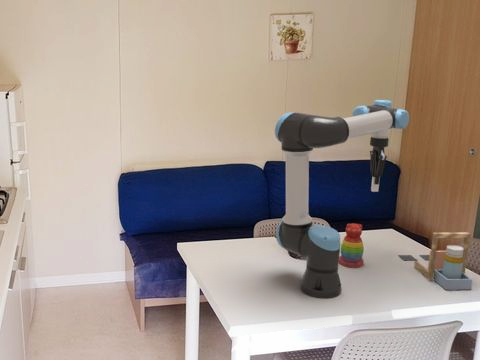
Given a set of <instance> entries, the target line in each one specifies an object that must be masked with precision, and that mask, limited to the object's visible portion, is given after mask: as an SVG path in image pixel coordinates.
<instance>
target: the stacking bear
mask: <svg viewBox="0 0 480 360" xmlns="http://www.w3.org/2000/svg"><path fill="white" fill-rule="evenodd" d="M362 232H363V224H360V223H354V222H353V223H347V224H346V227H345V236H344V237H343V239H342V243H341V244H340V245H341V246H340V255H339V265H341V266H343V267H346V268H350V269H351V268H352V269H356V268H357V269H358V268H360V267H362V266H363V265H364V259H363V254H364V249H365V248H364V241H363V239H362V238H361V236H362Z"/></svg>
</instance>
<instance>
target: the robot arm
mask: <svg viewBox="0 0 480 360" xmlns="http://www.w3.org/2000/svg"><path fill="white" fill-rule="evenodd" d="M409 123H410V114H409V112H408V110H405V109H401V108H393V102H392V100H387V99H375V100H374V101H373V104H372V105H359V106H356V107H355V108H354V109H353V111H352V116H350V117H341V116H335V117H329V116H322V115H321V116H320V115H317V114H314V115H313V114H309V113H302V112H297V111H296V112H292V111H291V112H285V113H284V114H282V115H281V116H280V118H279V119H277V121H276V124H275V127H274V135H275V138H276V139H277V141H279V142H280V144H281V145H280V146H281V151H282V152H283V153H284V155H285V215H284V216H283V217H282V218H281V221H280V222H279V223H278V227H276V231H275V239H276V242H277V244H278V245H279V246H280V247H281V248H282V249H284V250H286V251H288V252H290V253H291V252H292V253H293V254H296V255H298V256H301V257H303V258H305V259H306V266H305V267H306V268H305V270H304V273H303V276H302V279H301V280H300V286H299V288H300V291H302V293H304V294H306V295H308V296H311V297H315V298H322V299H325V298H326V299H327V298H328V299H330V298H335V297H338V296H339V295H340V294H341V293H342V283H341V279H340V275H339V265H340V263H339V256H340V254H341V245H342V243H341V234H340V233H339V232H338V230H336V229H334V228H332V227H331V226H326V225H325V226H324V225H321V224H314V225H313V218H312V217H311V216H310V214H309V190H310V189H309V187H310V186H309V185H310V183H309V181H310V177H309V174H310V173H309V172H310V171H309V169H310V154H311V152H313V151H314V149H321V148H322V149H323V148H329V147H333V146H337V145H340V144H344V143H346V142H347V141H348V140H349V139H353V138H357V137H361V136H365V135H369V134H370V136H371V137H370V140H369V145H370V146H371V147H373V148H372V150H370V151H369V155H370V160H369V161H370V163H369V164H370V174H371V176H372V177H371V178H372V179H371V186H370V191H371V192H373V193H375V192H377V193H378V192H379V187H380V178H381V177H383V174H384V168H385V164H386V160H387V158H388V156H387V155H385V148H387V147H389V143H390V142H389V141H390V139H389V137H390V132H391V129H396V130H404V129H406V127H407V126H408V125H409Z"/></svg>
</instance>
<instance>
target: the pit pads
mask: <svg viewBox="0 0 480 360" xmlns="http://www.w3.org/2000/svg"><path fill="white" fill-rule="evenodd" d="M398 257H399V258H400V259H401V260H402V261H403V262H407V261H409V262H411V261H414V262H415V261H418V260H417V259H416V258H415V257H414V256H413V255H411V254H405V255H404V254H402V255H401V254H399V255H398ZM419 257H420V258H422V259H423V260H424V261H429V257H430V254H419Z"/></svg>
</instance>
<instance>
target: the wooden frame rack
mask: <svg viewBox="0 0 480 360" xmlns="http://www.w3.org/2000/svg"><path fill="white" fill-rule="evenodd" d="M471 235H472V234H471V233H470V232H467V231H466V232H465V231H464V232H462V231H461V232H460V231H459V232H458V231H457V232H454V231H453V232H449V231H447V232H440V231H439V232H432V242H431V248H430V249H431V250H430V251H431V257H430V265H429V264H428V265H429V270H428V268H426V267H425V266H424V265H423V264H421V263H420V262H419V261H418V260H417V261H414V265H413V268H414V269H415V270H416V271H417V272H419V273H420V275H422V276H423V277H424V278H425V279H427V280H428V281H429V282H433V281H434V279H433V276H434V266H435V258H436V251H438V250H437V249H438V241H439V239H463V245H462V247H463V249H464V251H463V267H462V272H463V273H464V274H466V267H467V259H468V253H469V246H470V238H471Z"/></svg>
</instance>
